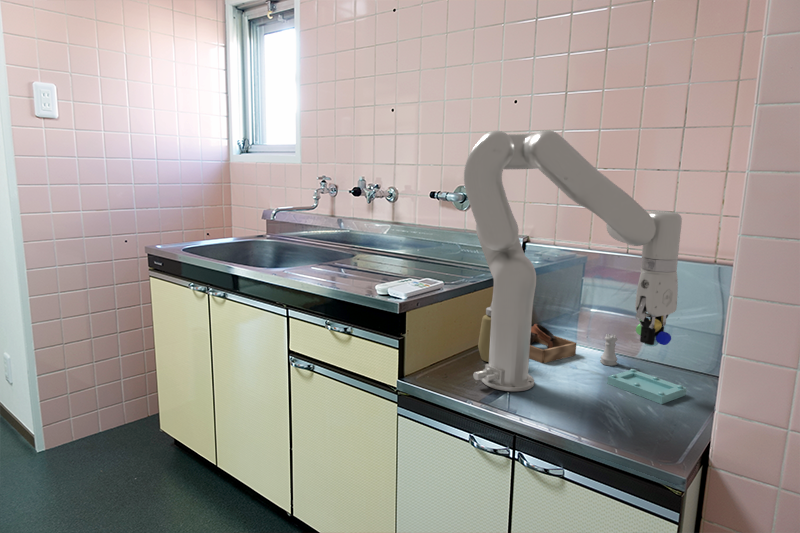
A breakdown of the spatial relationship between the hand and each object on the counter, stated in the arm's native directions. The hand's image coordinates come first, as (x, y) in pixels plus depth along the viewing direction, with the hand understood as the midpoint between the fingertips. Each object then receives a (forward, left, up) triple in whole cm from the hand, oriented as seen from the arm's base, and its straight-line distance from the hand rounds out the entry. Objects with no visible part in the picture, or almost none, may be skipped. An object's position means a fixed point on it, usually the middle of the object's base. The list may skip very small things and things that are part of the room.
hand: (651, 341), depth 127 cm
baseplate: (0, 0, -12) cm, 12 cm away
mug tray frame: (-1, +33, -12) cm, 35 cm away
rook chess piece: (+8, +16, -12) cm, 22 cm away
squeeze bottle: (-18, +34, -12) cm, 40 cm away
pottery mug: (-1, +35, -12) cm, 37 cm away
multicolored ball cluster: (0, 0, -1) cm, 1 cm away
